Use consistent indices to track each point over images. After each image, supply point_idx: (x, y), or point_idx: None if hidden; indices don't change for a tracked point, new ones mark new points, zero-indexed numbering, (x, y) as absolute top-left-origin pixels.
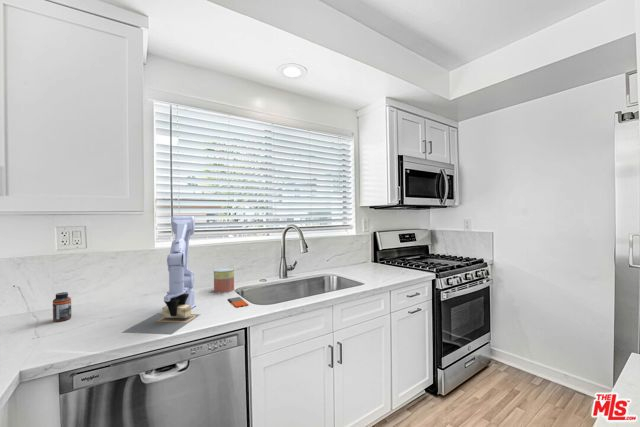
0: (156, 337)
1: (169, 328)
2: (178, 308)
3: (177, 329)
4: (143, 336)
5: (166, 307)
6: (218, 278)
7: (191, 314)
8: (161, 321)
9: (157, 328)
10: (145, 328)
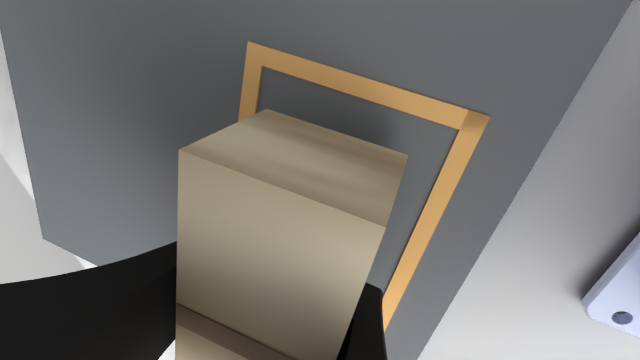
0: (18, 153)
1: (107, 214)
2: (178, 353)
3: (103, 262)
4: (2, 53)
5: (192, 218)
6: None
7: (407, 354)
8: (241, 105)
9: (92, 124)
10: (73, 5)
